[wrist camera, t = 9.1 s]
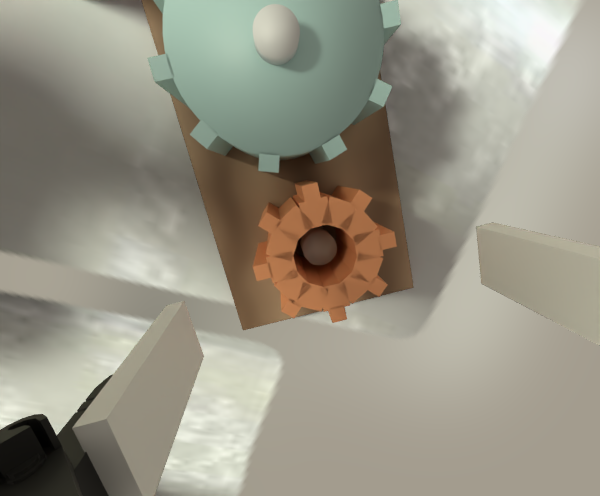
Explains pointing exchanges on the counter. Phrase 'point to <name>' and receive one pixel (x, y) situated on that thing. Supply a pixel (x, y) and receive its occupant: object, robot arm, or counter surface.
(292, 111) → the gear
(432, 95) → the counter surface
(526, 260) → the robot arm
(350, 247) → the gear
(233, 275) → the board
